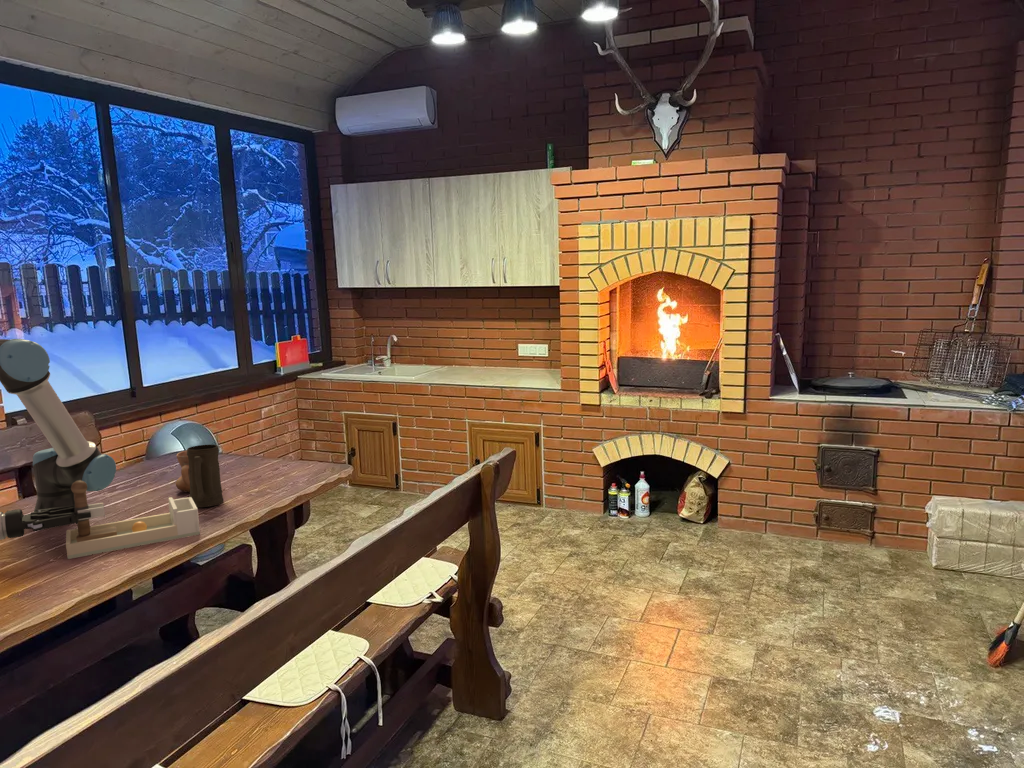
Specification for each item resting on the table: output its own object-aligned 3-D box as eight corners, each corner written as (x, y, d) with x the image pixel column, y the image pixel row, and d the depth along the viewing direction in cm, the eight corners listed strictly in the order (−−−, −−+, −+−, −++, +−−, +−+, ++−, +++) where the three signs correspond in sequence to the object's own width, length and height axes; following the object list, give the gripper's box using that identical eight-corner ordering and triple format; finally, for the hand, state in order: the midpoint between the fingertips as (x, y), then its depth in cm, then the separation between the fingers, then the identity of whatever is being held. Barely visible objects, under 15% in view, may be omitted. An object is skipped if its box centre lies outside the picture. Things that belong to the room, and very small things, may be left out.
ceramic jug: (191, 482, 268) (188, 446, 266) (228, 483, 267) (225, 446, 265) (164, 497, 251) (160, 458, 248) (203, 498, 249) (200, 459, 247)
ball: (132, 533, 213) (130, 521, 212) (147, 531, 215) (145, 518, 214) (133, 537, 209) (131, 525, 209) (148, 535, 211) (146, 522, 211)
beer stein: (190, 501, 246) (185, 444, 243) (224, 497, 250) (219, 441, 247) (187, 514, 232) (182, 455, 229) (223, 510, 236) (218, 452, 233)
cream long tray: (68, 543, 209) (64, 513, 207) (193, 521, 226) (190, 493, 225) (67, 559, 197) (64, 528, 195) (199, 534, 214) (197, 505, 213)
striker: (77, 542, 206) (70, 479, 203) (116, 535, 211) (110, 474, 208) (77, 547, 202) (70, 484, 199) (117, 540, 207) (111, 478, 204)
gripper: (9, 529, 202) (104, 513, 214) (5, 547, 188) (106, 530, 200) (6, 503, 201) (101, 489, 213) (1, 520, 187) (103, 504, 199)
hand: (103, 509), depth 206 cm, fingers closed on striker, 3 cm apart
